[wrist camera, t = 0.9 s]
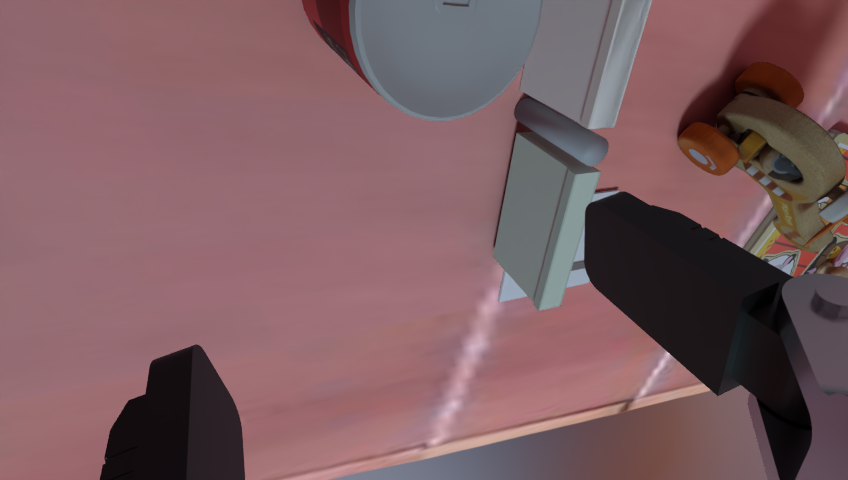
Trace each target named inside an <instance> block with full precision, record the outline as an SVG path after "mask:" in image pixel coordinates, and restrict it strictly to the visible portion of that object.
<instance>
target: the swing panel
mask: <svg viewBox="0 0 848 480" xmlns="http://www.w3.org/2000/svg"><path fill="white" fill-rule="evenodd" d="M600 173H601V171H599V170H597V169H596V168H594V167H590V166H587V165H585V164H584V163H582V162H581V161H579V160H578V159H576V158H574V157H573V156H571V155H570V154H568V153H567V152H565V151H564V150H562V149H561V148H559V147H557V146H556V145H554V144H553V143H551V142H550V141H548V140H547V139H545V138H544V137H542V136H540V135H539V134H537V133H536V132H521V133H517V134H516V139H515V144H514V149H513V154H512V160H511V165H510V170H509V175H508V181H507V186H506V191H505V196H504V202H503V207H502V212H501V217H500V223H499V228H498V233H497V238H496V244H495V249H494V254H493V258H494V259H495V260H496V261H497V262H498V263H499V264H500V265H501V267H502V268H503V269H504V270H505V271H506V272H507V273H508V274H509V276H510V277H511V278H512V279H513V280H514V281H515V282H516V284H517V285H518V286H519V287H520V288H521V289H522V290H523V291H524V293H525V294H526V295H527V296H528V297H529V298H530V299H531V300H532V302H533V305H534V306H535V307H536V308H537V310H538V311H540V310H544V309H549V308H553V307H557V306H561V303H562V299H563V296H564V293H565V289H566V286H567V283H568V279H569V276H570V273H571V269H572V266H573V263H574V259H575V256H576V253H577V249H578V246H579V243H580V239H581V236H582V233H583V229H584V226H585V210H586V207H587V205H588V204H589V203H591V202H592V199H593V196H594V193H595V189H596V186H597V183H598V179H599V176H600Z"/></svg>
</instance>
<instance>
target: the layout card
mask: <svg viewBox="0 0 848 480" xmlns="http://www.w3.org/2000/svg"><path fill="white" fill-rule="evenodd" d="M618 192H619V191H618V190H617V189H616V190H609V191H601V192H595V193H594V196H593V199H592V202H594V201H597V200H599V199H602V198H605V197H608V196H610V195H613V194H616V193H618ZM584 236H585V226H584V229H583V233H582V236H581V239H580V243H579V246H578V249H577V253H576V256H575V259H574V263H573V266H572V269H571V273H570V276H569V279H568V283H567V286H566V288H567V287H572V286H577V285H581V284H586V283H589V280H590V279H589V277H588V275H587V273H586V270H585V265H584ZM526 296H527V295H526V294H525V293H524V291H523V290H522V289H521V288H520V287H519V286H518V285H517V284H516V282H515V281H514V280H513V279H512V278H511V277H510V276H509V274H508V273H507V272H506V271H505V270H504V273H503V278H502V283H501V287H500V292H499V297H498V302H503V301H508V300H512V299H517V298H521V297H526Z"/></svg>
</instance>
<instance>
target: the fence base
mask: <svg viewBox="0 0 848 480" xmlns="http://www.w3.org/2000/svg"><path fill="white" fill-rule="evenodd" d="M651 3H652V0H543V6H542V13H541V19H540V24H539V28H538V31H537V34H536V38H535V41H534V44H533V46H532V48H531V51H530V53H529V55H528V57H527V59H526V62H525V63H524V69H523V74H522V80H521V85H520V91H522V92H524V93H525V94H527V95H529V96H531V97H533V98H534V99H533V98H531V97H526V98H523V99H522V100H520V101H519V102H518V104H517V105H516V107H515V111H514V115H515V118H516V120H517V121H519V122H520V123H522V124H523V125H525V126H526V127H528V128H530V129H531V130H533V131H534V132H536V133H537V134H539V135H540V136H542V137H544V138H545V139H547V140H548V141H550V142H551V143H553V144H554V145H556V146H557V147H559V148H561V149H562V150H564V151H565V152H567V153H568V154H570V155H571V156H573V157H574V158H576V159H578V160H579V161H581V162H582V163H584V164H585V165H587V166H594V165H597V164H598V163H600V162H601V161H602V160H603V159H604V157H605V156H606V154H607V151H608V141H607V140H606V139H605V138H603V137H602V136H600V135H598V134H596V133H594V132H593V131H591V130H589V129H598V128H611V127H614V126H615V123H616V119H617V116H618V113H619V109H620V106H621V103H622V99H623V96H624V93H625V89H626V86H627V83H628V79H629V76H630V73H631V69H632V66H633V63H634V59H635V56H636V53H637V49H638V46H639V43H640V39H641V36H642V33H643V29H644V26H645V23H646V19H647V16H648V13H649V9H650V6H651ZM535 99H536V100H535ZM537 100H538V101H540V102H542V103H544V104H545V105H544V104H542V103H540V102H538V101H537ZM546 105H547V106H549V107H551V108H553V109H554V110H553V109H551V108H549V107H547V106H546ZM555 110H556V111H558V112H560V113H562V114H563V115H562V114H560V113H558V112H556V111H555ZM564 115H565V116H567V117H569V118H571V119H572V120H571V119H569V118H567V117H565V116H564ZM573 120H574V121H573ZM575 121H576V122H578V123H580V124H578V123H576V122H575Z"/></svg>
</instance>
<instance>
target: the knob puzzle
mask: <svg viewBox="0 0 848 480" xmlns="http://www.w3.org/2000/svg"><path fill="white" fill-rule="evenodd" d="M827 133H828V134H829V135H830V136H831V137H832V138H833V140H834V141H835V142H836V144H837V145H838V147H839V149H840V151H841V153H842V155H843V157H844V160H845V163H846V176H845V179H844V181H843V183H842V184H841V185H840V186H839V187H840V188H841V189H843V190H844V191H845V190H847V189H848V134H846V133H843V132H840V131H838V130H835V129H830V130H828V131H827ZM831 201H832V200H831V199H830V198H828V197H825V198H823V199H821V200H819V201H818V204H819V211H821V210H822V208H824V207H825V206H826V205H827V204H829V203H830V202H831ZM776 216H777V213H776V211H775V208H774V206H773V207H772V208H771V210H770V211H769V213H768V214H767V215H766V217H765V218H764V219H763V221H762V222H761V224H760V225H759V226H758V228H757V229H756V231H755V232H754V233H753V235H752V236H751V237H750V239H749V240H748V242H747V243H746V244H745V246H744V247H743V249H745V250H746V251H748V252H750V253H752V254H753V255H755V256H757V257H759V258H760V259H762V260H764V261H766V262H768V263H769V264H771V265H773V266H775V267H776V268H778V269H780V270H782V271H783V272H785V273H787V274H789V275H791V276H792V277H796V276H799V275H804V274H819V273H821V274H831V275H837V276H842V277H846V278H848V224H846V223H844V222H843V221H841V222H839V223H838V224H837V225H835V226H834V227H833V228H831V229H830V230H831V232H832V234H833V237H834V238H833V241H832V242H830V243H829V244H828V245H826V246H825V247H824V248H822V249H821V250H819V251H818V252H815V253H811V252H807V251H804V250H802V249H800V248H798V247H797V246H795V245H794V244H792V243H791V242H789V241H788V240H787V239H786V238H784V237H783V236H782V235H781V234H780V233H779V232H778V230H777V229H776V228H775V226H774V224H773V219H774V218H775V217H776ZM820 217H821V216H820ZM821 220H822V221H823V222H824V223H825V224H826V225H827V224H829V223H830V222H828V221H826V220H825V219H824V218H822V217H821Z"/></svg>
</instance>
